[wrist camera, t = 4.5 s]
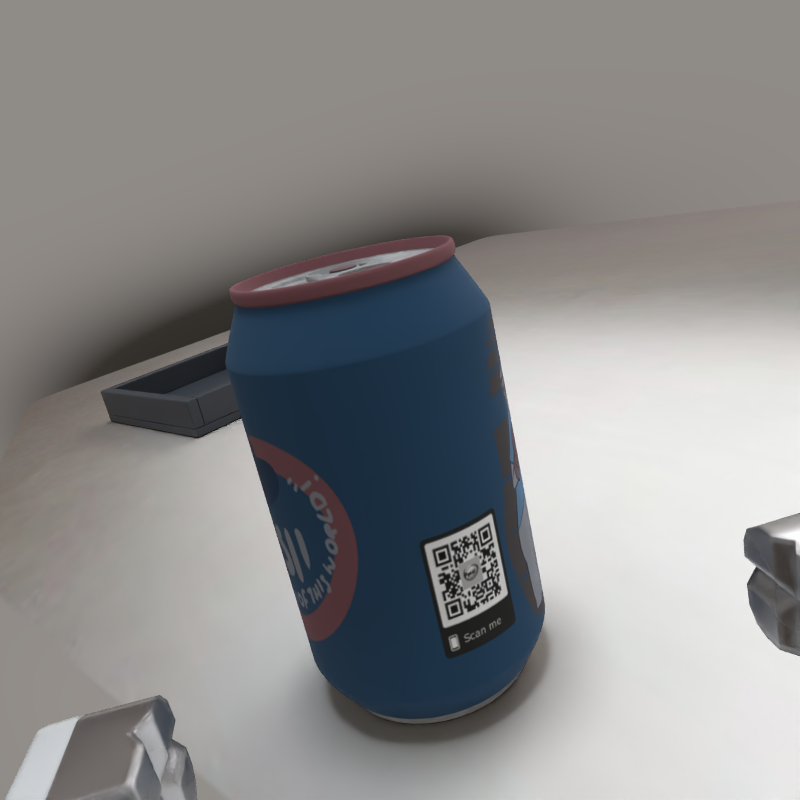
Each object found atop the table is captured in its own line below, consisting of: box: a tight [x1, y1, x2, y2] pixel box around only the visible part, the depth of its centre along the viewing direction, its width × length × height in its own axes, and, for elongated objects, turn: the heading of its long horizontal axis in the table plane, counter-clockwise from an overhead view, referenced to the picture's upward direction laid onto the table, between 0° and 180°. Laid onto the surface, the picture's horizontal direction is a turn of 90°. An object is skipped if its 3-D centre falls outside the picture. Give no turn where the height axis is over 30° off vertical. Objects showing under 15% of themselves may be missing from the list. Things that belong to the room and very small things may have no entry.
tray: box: [101, 343, 241, 437], centre depth 57 cm, size 14×14×3 cm
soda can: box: [225, 236, 545, 724], centre depth 20 cm, size 7×7×12 cm
